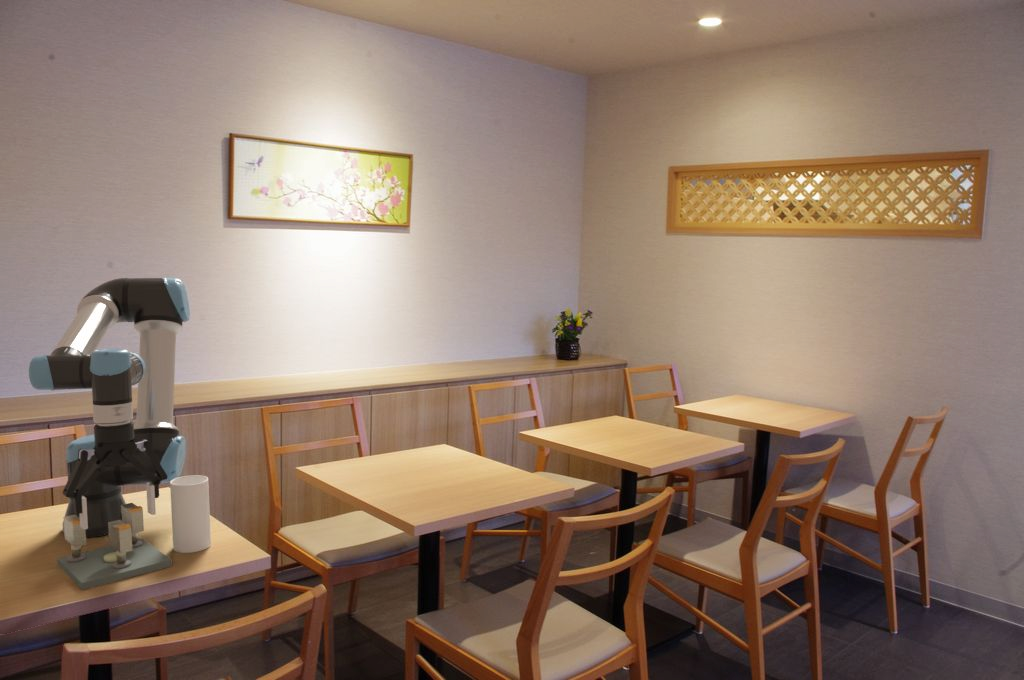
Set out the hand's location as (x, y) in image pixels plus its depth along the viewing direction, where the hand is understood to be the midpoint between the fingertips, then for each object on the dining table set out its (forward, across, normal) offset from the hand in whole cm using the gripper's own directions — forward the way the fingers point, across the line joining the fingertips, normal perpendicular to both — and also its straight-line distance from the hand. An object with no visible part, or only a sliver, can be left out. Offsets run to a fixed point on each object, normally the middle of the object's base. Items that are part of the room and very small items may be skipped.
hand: (118, 520), depth 170 cm
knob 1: (+10, 0, 0) cm, 10 cm away
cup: (+12, +17, +5) cm, 21 cm away
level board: (+12, 0, +6) cm, 13 cm away
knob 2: (+10, +6, +11) cm, 16 cm away
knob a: (+10, -6, +11) cm, 16 cm away
